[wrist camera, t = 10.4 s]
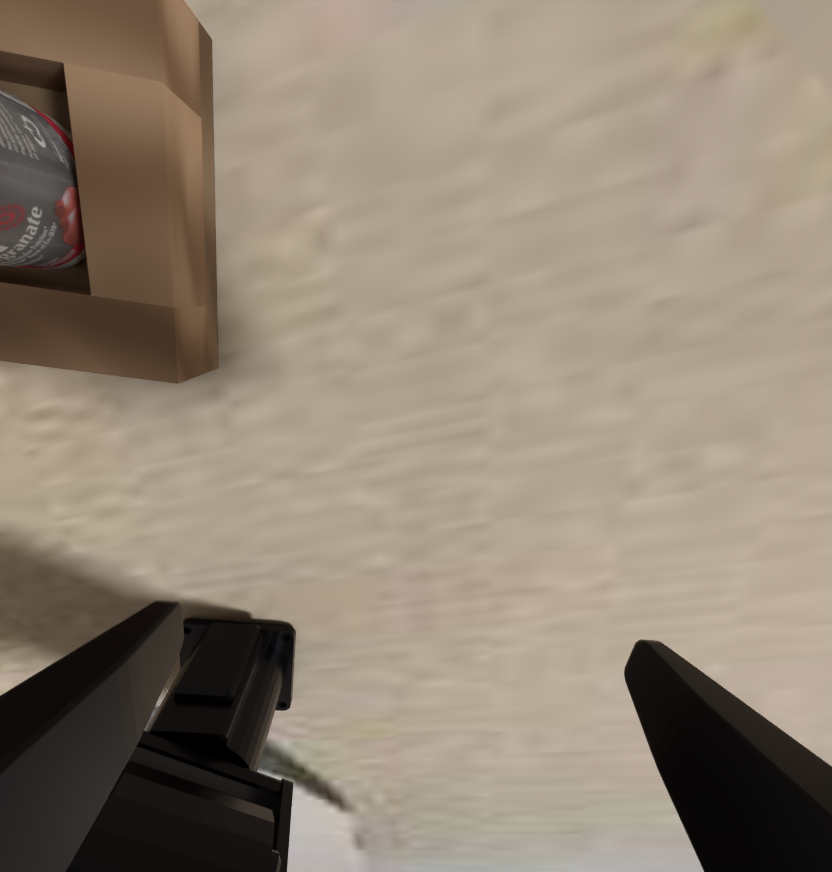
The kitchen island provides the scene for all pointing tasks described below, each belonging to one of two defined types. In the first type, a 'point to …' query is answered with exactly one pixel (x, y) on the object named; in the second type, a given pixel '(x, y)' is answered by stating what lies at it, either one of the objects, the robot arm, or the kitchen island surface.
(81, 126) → the socket block
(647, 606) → the kitchen island surface
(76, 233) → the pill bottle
